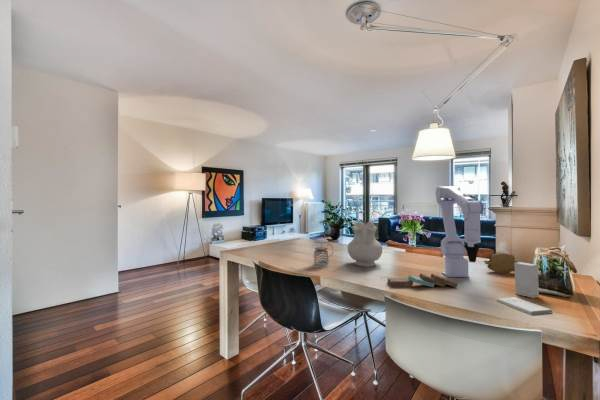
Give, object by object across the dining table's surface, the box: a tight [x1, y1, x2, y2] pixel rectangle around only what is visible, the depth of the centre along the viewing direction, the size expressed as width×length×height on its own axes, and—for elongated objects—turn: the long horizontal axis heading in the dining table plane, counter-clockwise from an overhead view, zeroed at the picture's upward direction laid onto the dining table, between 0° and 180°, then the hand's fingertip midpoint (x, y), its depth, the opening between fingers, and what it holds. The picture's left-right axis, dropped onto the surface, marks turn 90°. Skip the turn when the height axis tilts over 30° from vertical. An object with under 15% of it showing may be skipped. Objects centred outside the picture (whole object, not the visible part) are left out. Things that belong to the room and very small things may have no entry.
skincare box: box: [514, 261, 540, 299], centre depth 106 cm, size 6×4×12 cm
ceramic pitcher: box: [347, 220, 383, 268], centre depth 158 cm, size 22×20×25 cm
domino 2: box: [386, 281, 413, 288], centre depth 120 cm, size 2×5×9 cm
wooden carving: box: [483, 252, 518, 274], centre depth 140 cm, size 16×5×10 cm, turn 80°
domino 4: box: [418, 273, 446, 288], centre depth 119 cm, size 2×5×9 cm
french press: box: [312, 220, 334, 269], centre depth 156 cm, size 10×12×25 cm
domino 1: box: [387, 277, 414, 286], centre depth 120 cm, size 2×5×9 cm
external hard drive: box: [496, 296, 553, 316], centre depth 95 cm, size 2×8×12 cm
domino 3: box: [407, 275, 435, 288], centre depth 118 cm, size 2×5×9 cm
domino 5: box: [430, 273, 458, 288], centre depth 119 cm, size 2×5×9 cm
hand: (472, 261), depth 117 cm, fingers closed
